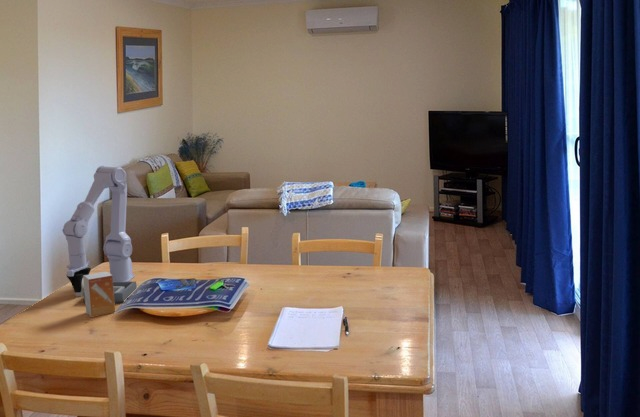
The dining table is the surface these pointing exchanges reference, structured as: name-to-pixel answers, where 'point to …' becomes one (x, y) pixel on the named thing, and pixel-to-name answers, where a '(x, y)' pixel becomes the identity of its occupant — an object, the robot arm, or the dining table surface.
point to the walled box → (121, 290)
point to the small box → (99, 294)
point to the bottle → (81, 290)
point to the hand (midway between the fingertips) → (80, 290)
